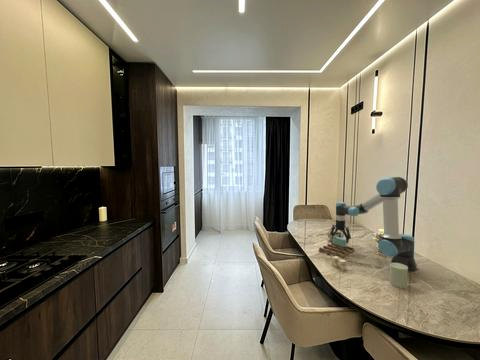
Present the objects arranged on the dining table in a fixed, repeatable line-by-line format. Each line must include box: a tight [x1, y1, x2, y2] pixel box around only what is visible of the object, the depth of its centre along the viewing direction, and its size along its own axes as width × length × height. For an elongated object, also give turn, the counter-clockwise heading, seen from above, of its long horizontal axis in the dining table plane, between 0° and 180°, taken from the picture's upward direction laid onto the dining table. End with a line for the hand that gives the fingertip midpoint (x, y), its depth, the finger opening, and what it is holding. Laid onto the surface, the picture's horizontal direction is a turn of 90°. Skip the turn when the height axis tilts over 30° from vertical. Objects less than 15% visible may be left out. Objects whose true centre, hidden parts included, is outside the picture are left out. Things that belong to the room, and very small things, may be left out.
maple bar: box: [331, 256, 347, 271], centre depth 162 cm, size 10×4×6 cm, turn 19°
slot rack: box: [317, 241, 356, 259], centre depth 192 cm, size 20×24×3 cm
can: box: [388, 262, 409, 289], centre depth 137 cm, size 9×9×12 cm
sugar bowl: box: [326, 226, 345, 242], centre depth 218 cm, size 20×15×15 cm
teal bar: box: [334, 237, 346, 247], centre depth 196 cm, size 10×4×6 cm, turn 39°
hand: (340, 244), depth 196 cm, fingers closed on teal bar, 10 cm apart
